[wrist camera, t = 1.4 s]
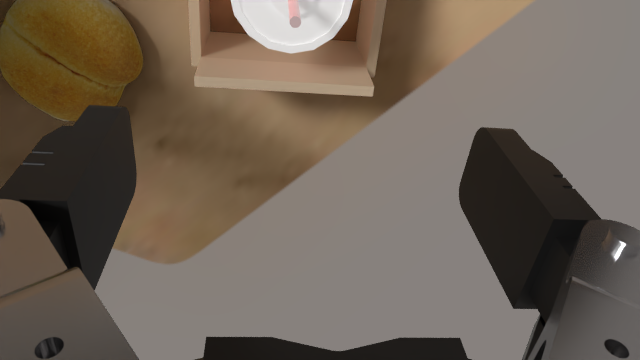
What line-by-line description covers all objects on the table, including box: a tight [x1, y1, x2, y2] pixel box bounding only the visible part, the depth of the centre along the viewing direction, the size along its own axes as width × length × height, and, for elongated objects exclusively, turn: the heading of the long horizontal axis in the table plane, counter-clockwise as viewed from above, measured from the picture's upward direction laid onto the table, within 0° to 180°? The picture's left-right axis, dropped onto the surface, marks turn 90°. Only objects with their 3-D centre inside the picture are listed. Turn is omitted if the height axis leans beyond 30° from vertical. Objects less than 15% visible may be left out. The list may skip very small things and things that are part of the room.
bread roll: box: [0, 0, 143, 121], centre depth 32 cm, size 8×9×4 cm
